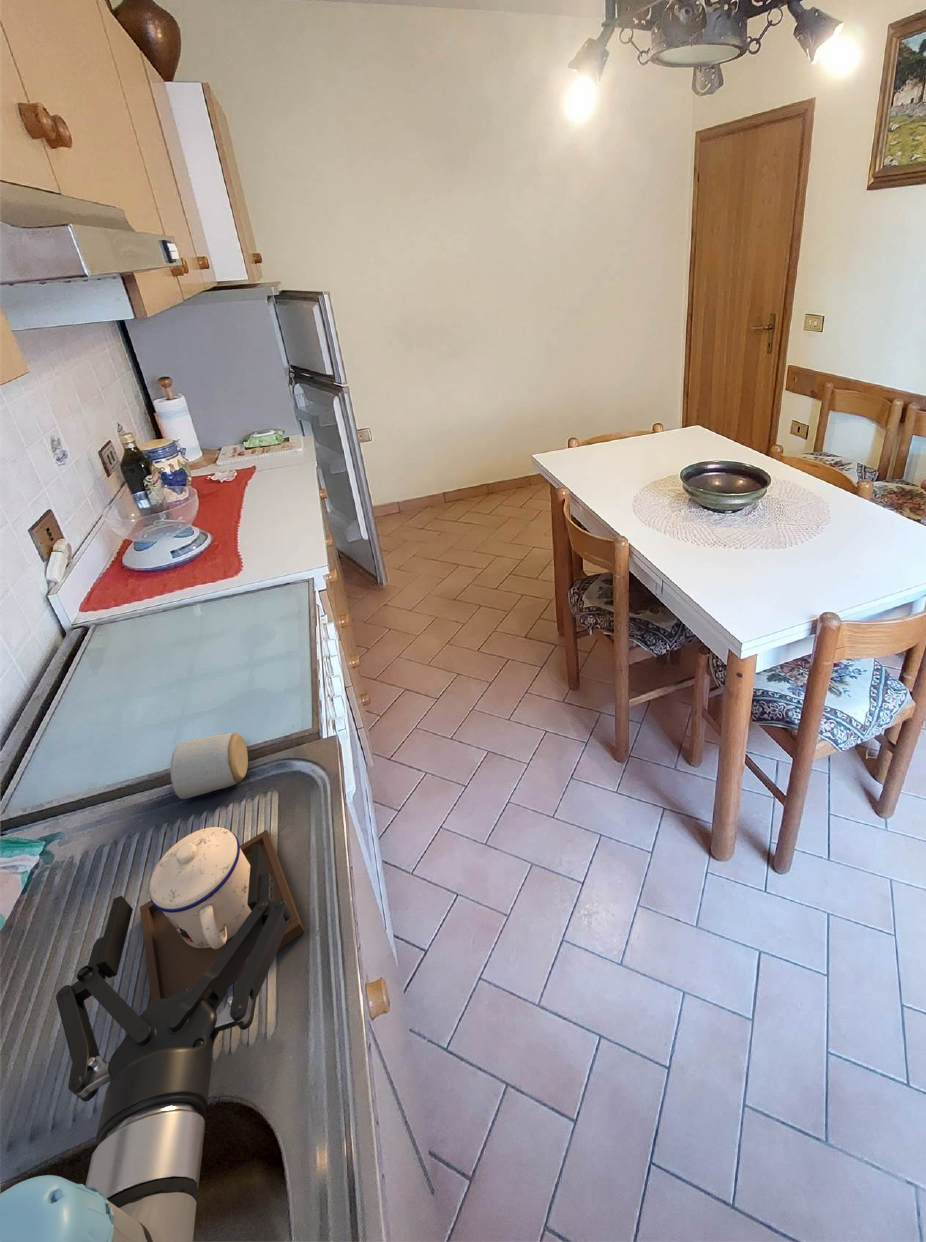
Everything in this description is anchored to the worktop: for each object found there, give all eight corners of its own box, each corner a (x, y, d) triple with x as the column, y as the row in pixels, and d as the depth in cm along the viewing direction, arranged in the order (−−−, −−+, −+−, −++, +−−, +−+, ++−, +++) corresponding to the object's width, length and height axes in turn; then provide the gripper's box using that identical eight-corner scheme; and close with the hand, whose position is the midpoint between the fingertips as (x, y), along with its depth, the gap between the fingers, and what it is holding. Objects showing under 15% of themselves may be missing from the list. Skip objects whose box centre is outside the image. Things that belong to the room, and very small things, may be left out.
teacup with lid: (176, 900, 70) (135, 843, 65) (255, 854, 75) (223, 797, 69) (186, 998, 62) (139, 941, 56) (275, 939, 66) (240, 881, 60)
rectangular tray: (146, 915, 70) (139, 907, 69) (271, 837, 77) (266, 829, 76) (161, 1035, 59) (154, 1027, 59) (304, 932, 67) (300, 923, 66)
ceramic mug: (246, 792, 83) (228, 756, 80) (184, 811, 82) (162, 775, 78) (256, 736, 93) (240, 701, 89) (200, 752, 91) (181, 717, 87)
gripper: (-9, 1236, 45) (79, 945, 62) (327, 1071, 51) (320, 851, 69) (-68, 1207, 41) (43, 908, 59) (302, 1034, 48) (302, 812, 66)
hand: (193, 877), depth 64 cm, fingers open, 13 cm apart
